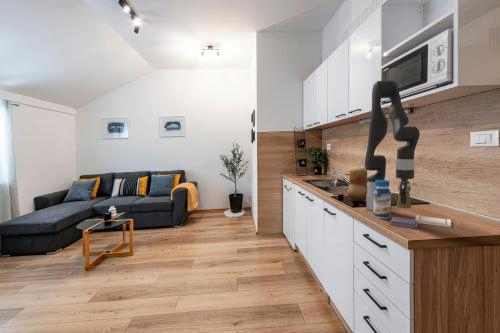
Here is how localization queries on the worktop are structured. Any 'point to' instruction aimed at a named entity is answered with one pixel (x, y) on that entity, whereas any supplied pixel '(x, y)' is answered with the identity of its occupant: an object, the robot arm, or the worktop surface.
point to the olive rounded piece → (408, 203)
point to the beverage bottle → (382, 199)
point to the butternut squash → (357, 183)
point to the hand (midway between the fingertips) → (403, 203)
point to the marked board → (433, 221)
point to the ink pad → (404, 222)
